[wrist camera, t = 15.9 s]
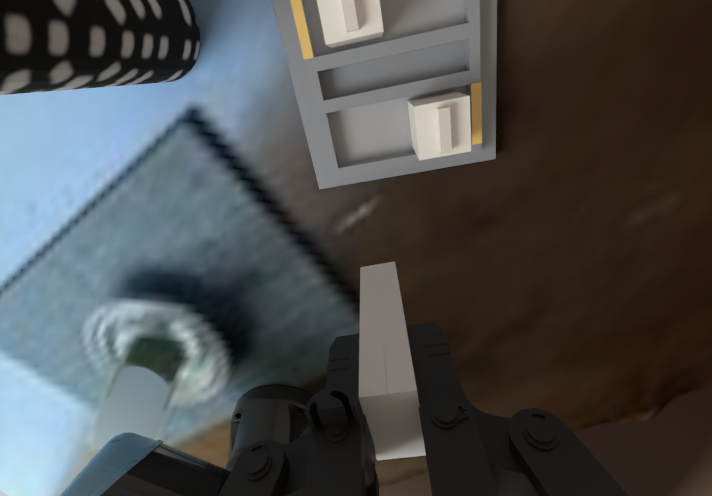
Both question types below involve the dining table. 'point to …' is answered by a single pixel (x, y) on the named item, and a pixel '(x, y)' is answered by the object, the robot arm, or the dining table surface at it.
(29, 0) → the spotted tube
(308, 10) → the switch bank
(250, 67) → the dining table surface
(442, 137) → the tab
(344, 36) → the tab
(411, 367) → the robot arm
